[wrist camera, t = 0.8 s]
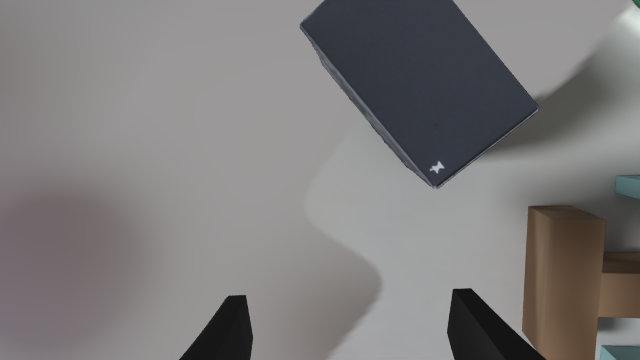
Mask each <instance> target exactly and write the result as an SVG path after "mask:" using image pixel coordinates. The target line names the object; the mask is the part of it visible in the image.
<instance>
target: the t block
mask: <svg viewBox="0 0 640 360" xmlns="http://www.w3.org/2000/svg"><path fill="white" fill-rule="evenodd" d="M605 229H606V220H604V219H602V218H600V217H597V216H595V215H592V214H590V213H587V212H585V211H582V210H580V209H578V208H575V207H573V206H528V223H527V242H526V262H525V281H524V301H523V320H522V331H523V333H524V334H525V336H526V337H527V338H528V340H529V341H530V342H531V344H532V345H533V346H534V348H535V349H536V351H537V352H538V353H540V354H541V355H542V356H543V357H544V358H545V359H547V360H595V349H596V337H597V325H598V317H618V318H640V253H626V252H604V241H605Z"/></svg>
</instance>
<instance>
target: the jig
mask: <svg viewBox="0 0 640 360" xmlns="http://www.w3.org/2000/svg"><path fill="white" fill-rule="evenodd" d="M615 193H619V194H623V195H626V196H630V197H633V198H637V199H640V176H616V186H615ZM600 360H640V347H621V346H602V347H601V358H600Z"/></svg>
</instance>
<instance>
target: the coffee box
mask: <svg viewBox="0 0 640 360" xmlns="http://www.w3.org/2000/svg"><path fill="white" fill-rule="evenodd" d="M632 1H633V2H634V3H635V5H637V6H638V7H639V8H640V0H632Z"/></svg>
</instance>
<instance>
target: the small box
mask: <svg viewBox="0 0 640 360" xmlns="http://www.w3.org/2000/svg"><path fill="white" fill-rule="evenodd" d="M300 29H301V30H302V31H303V32H304V34H305V35H306V36H307V38H308V39H309V41H310V42H311V43H312V46H313V47H314V49H315V50H316V52H317V54H318V56H319V58H320V60H321V63H322V65H323V66H324V68H325V69H326V70H327V71H328V72H329V74H330V75H331V76H332V78H333V79H334V80H335V81H336V82H337V83H338V85H339V86H340V87H341V89H342V90H343V91H344V92H345V93H346V95H347V96H348V97H349V99H350V100H351V101H352V102H353V103H354V104H355V106H356V107H357V108H358V109H359V110H360V112H361V113H362V114H363V115H364V116H365V118H366V119H367V120H368V121H369V123H370V124H371V126H372V127H373V128H374V129H375V131H376V132H377V133H378V134H379V135H380V136H381V137H382V139H383V140H384V142H385V143H386V144H387V145H388V146H389V147H390V148H391V149H392V150H393V151H394V153H395V154H396V155H397V156H398V157H399V159H400V160H401V161H402V162H403V163H404V165H405V166H406V167H407V168H409V169H410V170H412V171H413V172H414V173H416V174H417V175H418V176H419V177H420V178H421V179H422V180H424V181H425V182H426V183H427V184H428V185H429V186H431V187H432V188H436V189H438V188H440V187H441V186H442V185H444V184H445V183H446V182H447V181H449V180H450V179H451V178H452V177H454V176H455V175H456V174H458V173H459V172H460V171H462V170H463V169H464V168H465V167H467V166H468V165H469V164H471V163H472V162H473V161H475V160H476V159H477V158H478V157H480V156H481V155H482V154H483V153H485V152H486V151H487V150H489V149H490V148H491V147H493V146H494V145H495V144H496V143H498V142H499V141H500V140H502V139H503V138H504V137H506V136H507V135H508V134H509V133H511V132H512V131H513V130H515V129H516V128H517V127H519V126H520V125H521V124H522V123H523V122H525V121H526V120H528V119H529V118H531V117H532V116H533V115H534V114H535V113H536V112H538V110H539V107H538V105H537V103H536V102H535V101H534V100H533V99H532V97H531V96H530V95H529V94H528V93H527V91H526V90H525V89H524V88H523V86H522V85H521V84H520V83H519V82H518V80H517V79H516V78H515V77H514V75H513V74H512V73H511V72H510V71H509V69H508V68H507V67H506V66H505V65H504V63H503V62H502V61H501V60H500V58H499V57H498V56H497V55H496V54H495V52H494V51H493V50H492V49H491V47H490V46H489V45H488V44H487V43H486V41H485V40H484V39H483V38H482V36H481V35H480V34H479V33H478V31H477V30H476V29H475V28H474V26H473V25H472V24H471V23H470V22H469V21H468V19H467V18H466V17H465V15H464V14H463V13H462V12H461V10H460V9H459V8H458V7H457V5H456V4H455V3H454V2H453V0H324V1H323V2H322V3H321V4H320V5H319V6H318V7H317V8H316V9H315V10H314V11H313V12H312V13H311V14H309V15H308V16H307V17H306V18H305V19H304V20H303V22H301V24H300Z"/></svg>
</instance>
